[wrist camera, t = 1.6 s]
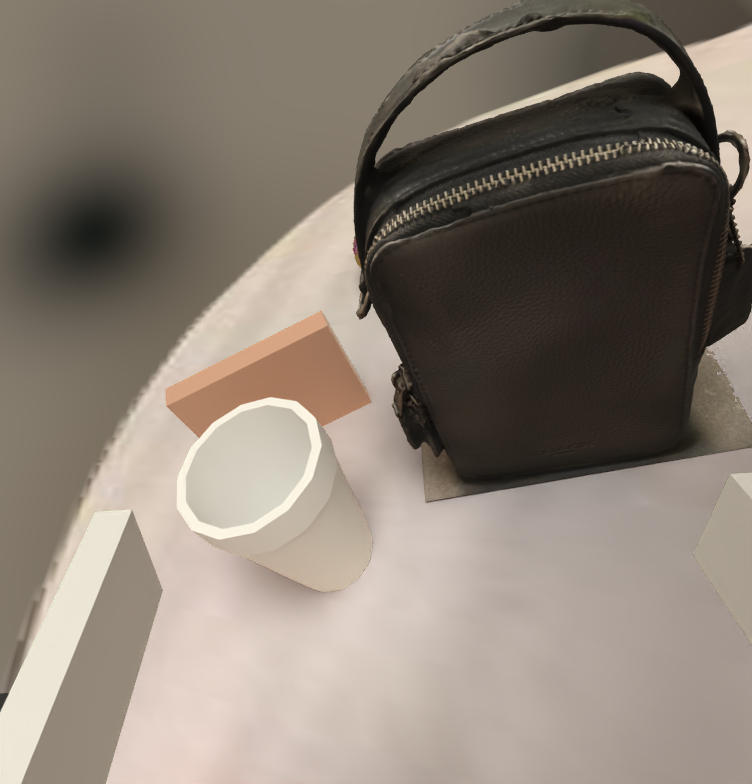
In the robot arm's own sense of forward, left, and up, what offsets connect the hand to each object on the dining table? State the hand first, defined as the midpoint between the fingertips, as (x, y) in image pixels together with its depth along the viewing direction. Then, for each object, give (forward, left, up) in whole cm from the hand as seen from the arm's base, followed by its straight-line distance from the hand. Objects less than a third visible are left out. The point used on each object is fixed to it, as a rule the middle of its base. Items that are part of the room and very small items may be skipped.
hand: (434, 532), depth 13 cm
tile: (-11, -28, -25) cm, 39 cm away
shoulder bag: (-19, -6, -25) cm, 32 cm away
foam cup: (-3, -18, -25) cm, 31 cm away
